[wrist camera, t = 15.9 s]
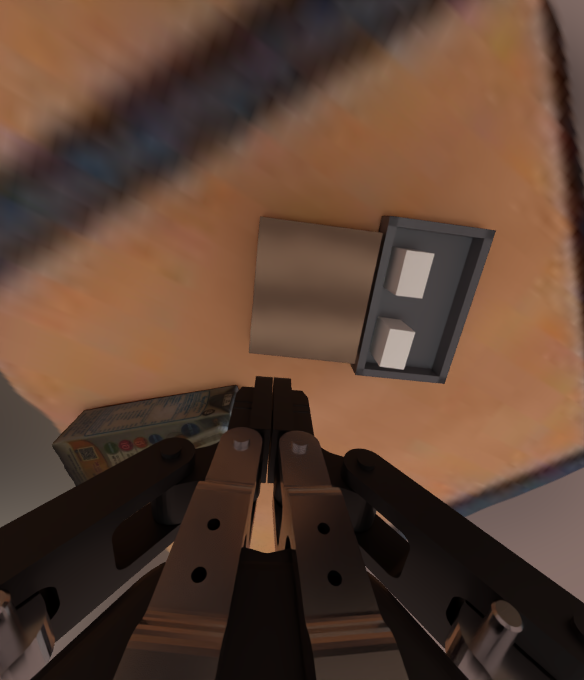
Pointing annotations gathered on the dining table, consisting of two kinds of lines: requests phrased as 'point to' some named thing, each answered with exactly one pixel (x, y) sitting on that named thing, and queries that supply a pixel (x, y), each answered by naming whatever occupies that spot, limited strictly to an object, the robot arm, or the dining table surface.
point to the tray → (425, 296)
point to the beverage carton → (142, 429)
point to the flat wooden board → (311, 289)
